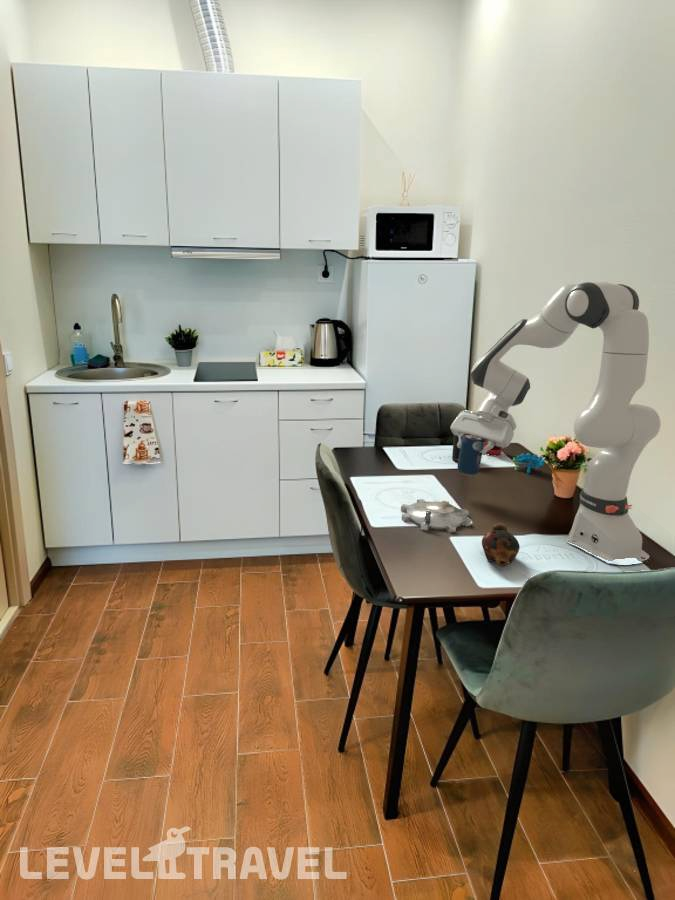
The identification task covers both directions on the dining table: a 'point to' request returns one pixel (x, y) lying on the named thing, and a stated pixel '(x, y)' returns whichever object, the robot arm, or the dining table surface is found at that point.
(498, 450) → the canned food
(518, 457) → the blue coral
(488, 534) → the decorative turtle
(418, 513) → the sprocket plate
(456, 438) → the pen holder
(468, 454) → the soda can
